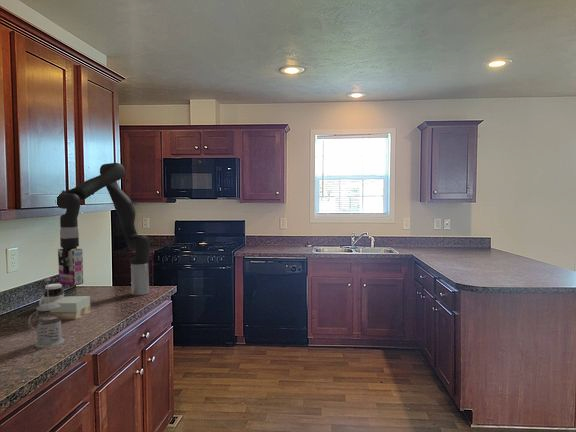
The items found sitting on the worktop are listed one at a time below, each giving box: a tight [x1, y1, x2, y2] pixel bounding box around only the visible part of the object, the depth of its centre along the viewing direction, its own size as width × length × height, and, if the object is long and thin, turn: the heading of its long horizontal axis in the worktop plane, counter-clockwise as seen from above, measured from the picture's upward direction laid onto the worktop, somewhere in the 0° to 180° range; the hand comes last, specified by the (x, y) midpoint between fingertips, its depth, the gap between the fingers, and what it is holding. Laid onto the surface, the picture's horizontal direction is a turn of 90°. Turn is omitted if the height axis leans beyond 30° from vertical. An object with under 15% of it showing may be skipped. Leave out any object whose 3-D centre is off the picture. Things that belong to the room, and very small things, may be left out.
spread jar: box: [38, 283, 65, 306], centre depth 199 cm, size 12×11×12 cm
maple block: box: [49, 304, 92, 321], centre depth 186 cm, size 12×12×4 cm
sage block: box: [49, 295, 91, 313], centre depth 186 cm, size 12×12×4 cm
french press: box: [27, 277, 66, 349], centre depth 151 cm, size 10×12×25 cm
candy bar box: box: [57, 247, 84, 287], centre depth 185 cm, size 11×5×16 cm, turn 63°
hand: (70, 272), depth 186 cm, fingers closed on candy bar box, 6 cm apart
